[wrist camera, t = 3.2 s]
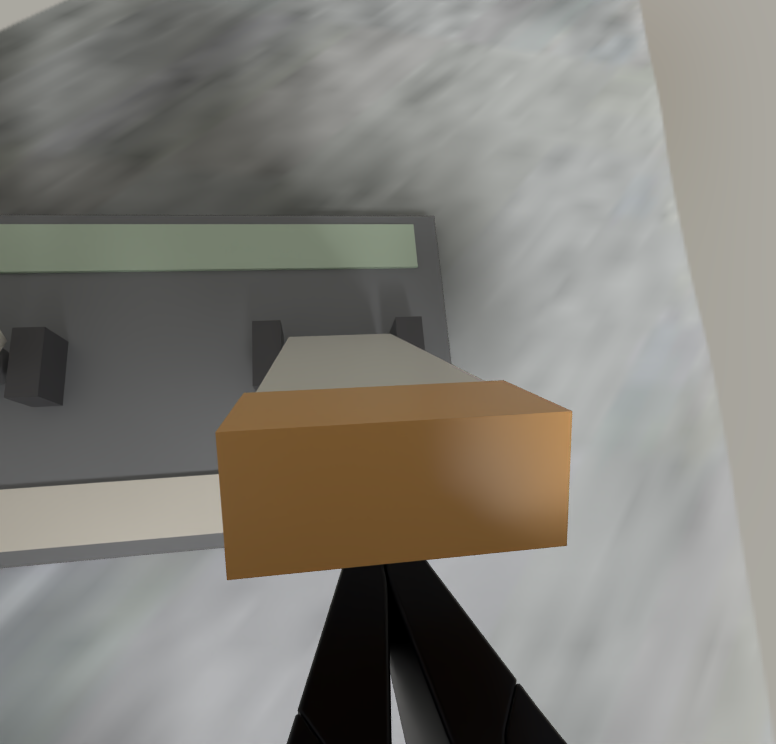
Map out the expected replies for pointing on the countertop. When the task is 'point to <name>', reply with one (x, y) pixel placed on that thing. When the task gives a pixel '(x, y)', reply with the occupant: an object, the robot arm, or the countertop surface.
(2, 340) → the on lever
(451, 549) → the lever
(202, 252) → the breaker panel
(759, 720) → the countertop surface
